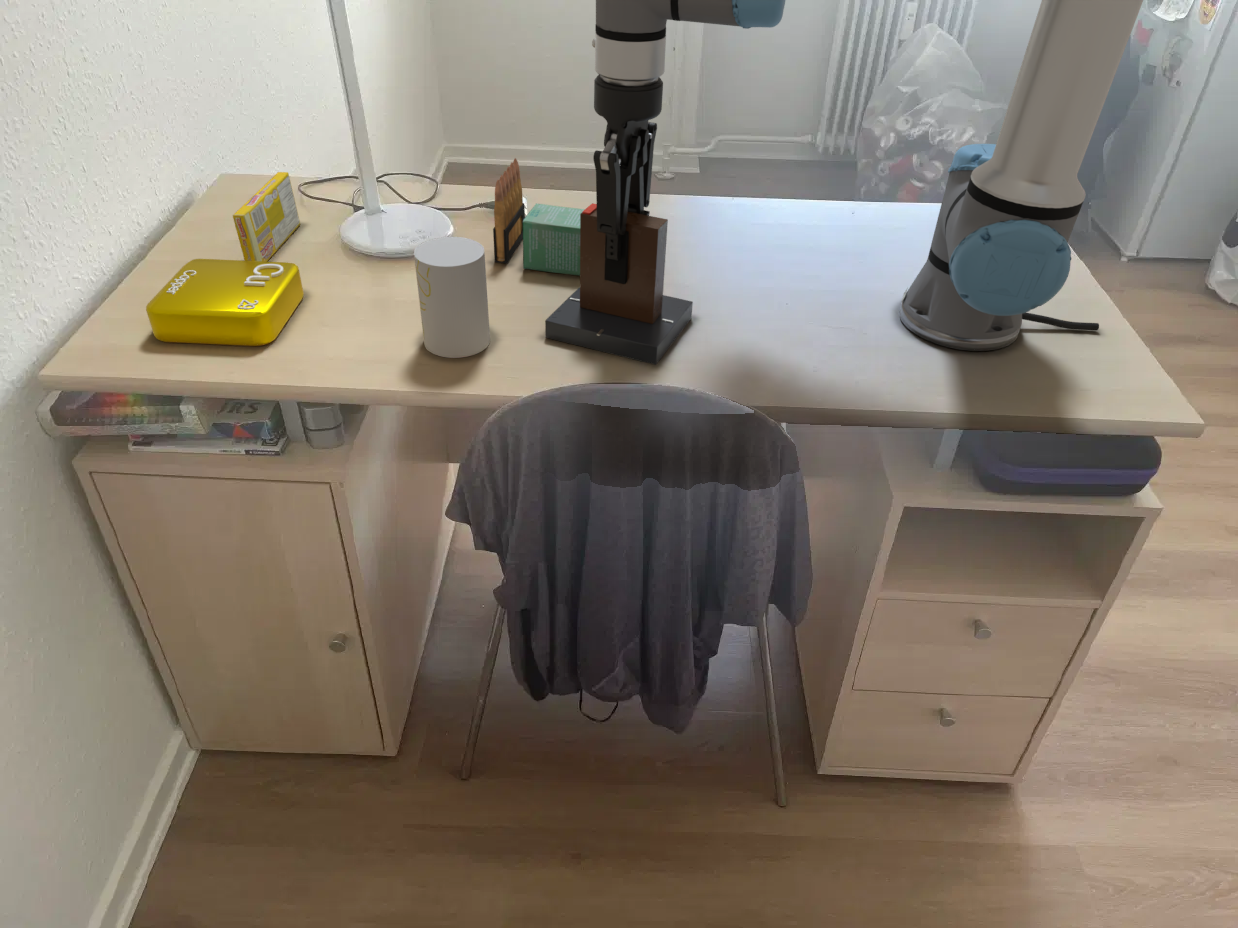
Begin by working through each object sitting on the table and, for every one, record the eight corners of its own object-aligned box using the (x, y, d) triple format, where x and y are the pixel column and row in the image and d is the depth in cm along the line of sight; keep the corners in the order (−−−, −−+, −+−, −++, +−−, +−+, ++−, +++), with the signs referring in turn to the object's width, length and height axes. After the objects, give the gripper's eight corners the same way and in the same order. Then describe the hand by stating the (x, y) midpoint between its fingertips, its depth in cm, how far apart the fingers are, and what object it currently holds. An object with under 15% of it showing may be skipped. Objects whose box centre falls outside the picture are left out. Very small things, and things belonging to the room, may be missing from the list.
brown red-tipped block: (661, 313, 117) (668, 217, 109) (652, 324, 114) (658, 227, 107) (590, 296, 120) (591, 202, 112) (579, 307, 117) (580, 211, 110)
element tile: (198, 286, 124) (189, 253, 121) (308, 291, 124) (302, 258, 121) (148, 342, 112) (137, 307, 109) (271, 348, 112) (262, 313, 109)
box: (615, 281, 129) (617, 230, 125) (522, 271, 131) (520, 221, 126) (625, 260, 135) (626, 210, 130) (535, 250, 137) (534, 201, 132)
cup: (431, 323, 118) (421, 235, 111) (494, 326, 118) (489, 238, 111) (418, 356, 112) (407, 265, 104) (484, 359, 111) (478, 268, 104)
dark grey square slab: (693, 316, 122) (694, 298, 120) (654, 367, 111) (655, 348, 110) (589, 293, 126) (590, 275, 124) (543, 340, 116) (542, 321, 114)
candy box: (287, 224, 141) (277, 171, 136) (301, 225, 141) (291, 171, 136) (244, 270, 128) (231, 213, 123) (259, 271, 128) (246, 214, 123)
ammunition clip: (506, 264, 132) (502, 182, 125) (494, 263, 133) (489, 181, 125) (525, 234, 141) (523, 156, 133) (514, 233, 141) (510, 155, 134)
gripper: (625, 55, 107) (619, 244, 121) (565, 90, 95) (566, 295, 109) (686, 63, 105) (672, 255, 119) (632, 100, 93) (624, 308, 107)
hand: (621, 274), depth 114 cm, fingers closed on brown red-tipped block, 3 cm apart
